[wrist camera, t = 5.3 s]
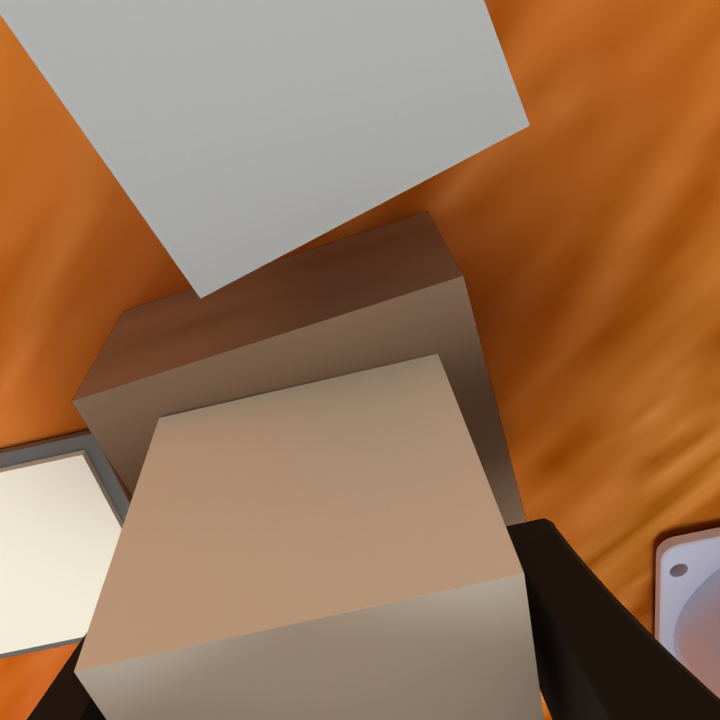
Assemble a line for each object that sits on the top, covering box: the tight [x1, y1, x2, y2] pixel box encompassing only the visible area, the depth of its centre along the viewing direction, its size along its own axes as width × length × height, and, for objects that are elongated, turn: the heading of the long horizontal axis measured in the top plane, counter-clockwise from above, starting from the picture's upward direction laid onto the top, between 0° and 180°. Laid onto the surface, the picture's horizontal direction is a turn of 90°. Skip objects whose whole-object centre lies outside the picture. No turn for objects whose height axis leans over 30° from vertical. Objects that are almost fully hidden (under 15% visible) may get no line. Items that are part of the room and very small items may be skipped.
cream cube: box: [74, 354, 544, 720], centre depth 11 cm, size 5×5×5 cm
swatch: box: [0, 430, 132, 659], centre depth 18 cm, size 7×7×1 cm
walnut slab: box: [71, 211, 526, 526], centre depth 14 cm, size 7×7×4 cm
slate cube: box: [0, 0, 530, 298], centre depth 10 cm, size 5×5×5 cm
